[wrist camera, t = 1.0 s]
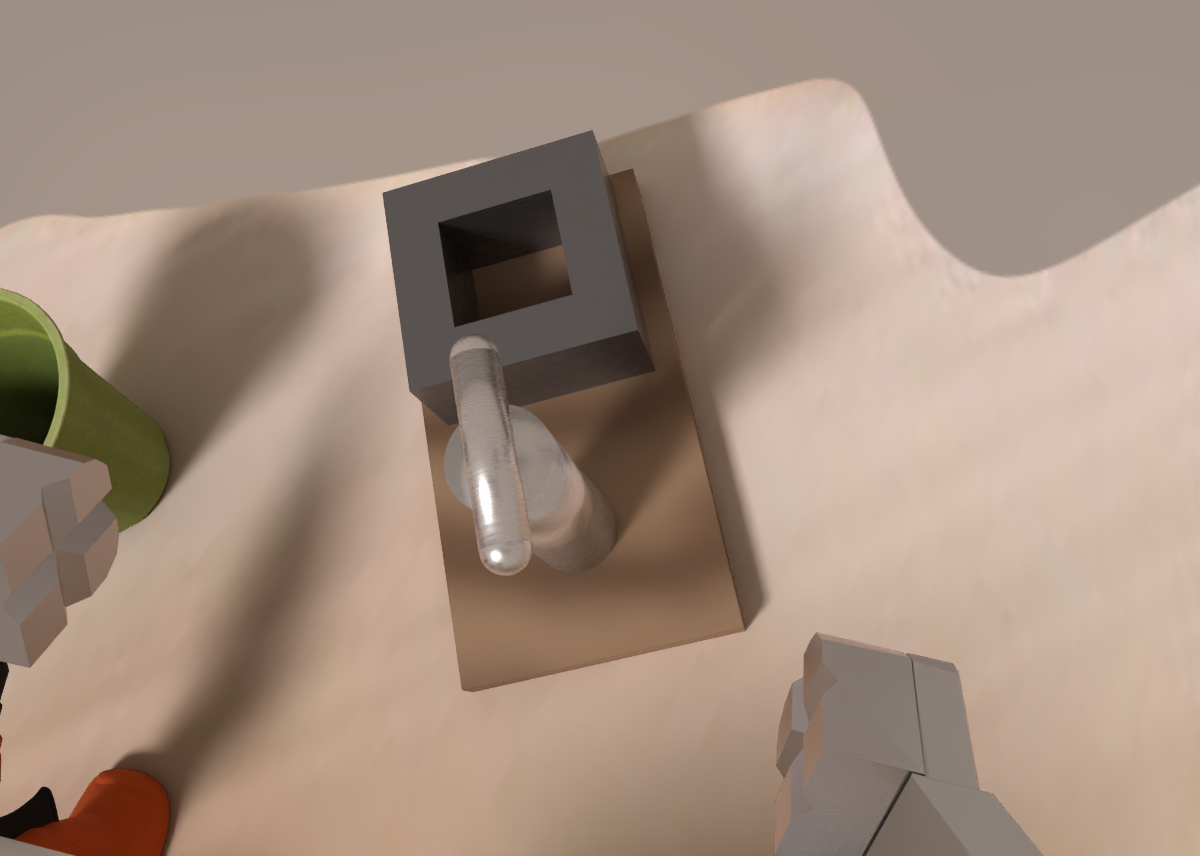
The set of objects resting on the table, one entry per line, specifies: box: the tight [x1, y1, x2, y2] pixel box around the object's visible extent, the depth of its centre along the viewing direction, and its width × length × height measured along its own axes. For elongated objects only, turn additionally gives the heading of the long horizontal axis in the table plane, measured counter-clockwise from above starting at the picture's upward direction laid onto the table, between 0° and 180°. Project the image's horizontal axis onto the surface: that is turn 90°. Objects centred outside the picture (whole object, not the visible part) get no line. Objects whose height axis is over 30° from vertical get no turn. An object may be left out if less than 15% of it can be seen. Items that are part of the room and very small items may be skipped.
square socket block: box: [383, 130, 656, 426], centre depth 48 cm, size 11×11×5 cm
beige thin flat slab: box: [422, 169, 746, 692], centre depth 49 cm, size 24×13×2 cm, turn 11°
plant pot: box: [0, 289, 170, 532], centre depth 49 cm, size 12×12×11 cm
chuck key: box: [444, 334, 618, 576], centre depth 40 cm, size 9×4×14 cm, turn 11°
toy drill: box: [0, 661, 170, 856], centre depth 42 cm, size 5×19×15 cm, turn 165°
